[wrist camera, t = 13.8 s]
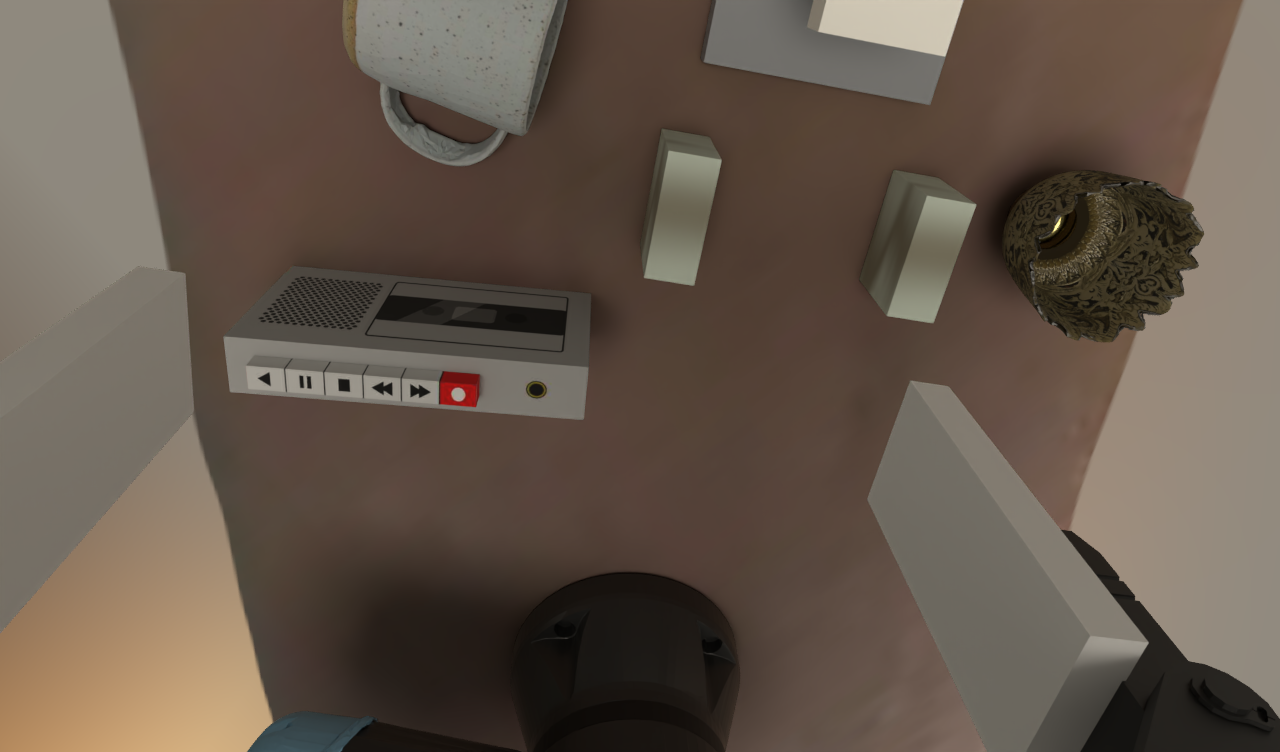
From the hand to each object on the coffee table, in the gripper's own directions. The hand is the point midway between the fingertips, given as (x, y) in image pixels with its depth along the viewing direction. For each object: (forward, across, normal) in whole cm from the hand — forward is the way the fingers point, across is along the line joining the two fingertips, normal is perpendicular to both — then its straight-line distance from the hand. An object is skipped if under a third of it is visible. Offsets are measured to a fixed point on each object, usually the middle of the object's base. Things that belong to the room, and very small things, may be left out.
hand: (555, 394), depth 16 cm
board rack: (+29, -11, +3) cm, 31 cm away
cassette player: (+29, +6, +11) cm, 32 cm away
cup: (+29, -24, +1) cm, 38 cm away
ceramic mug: (+29, +6, -2) cm, 30 cm away
